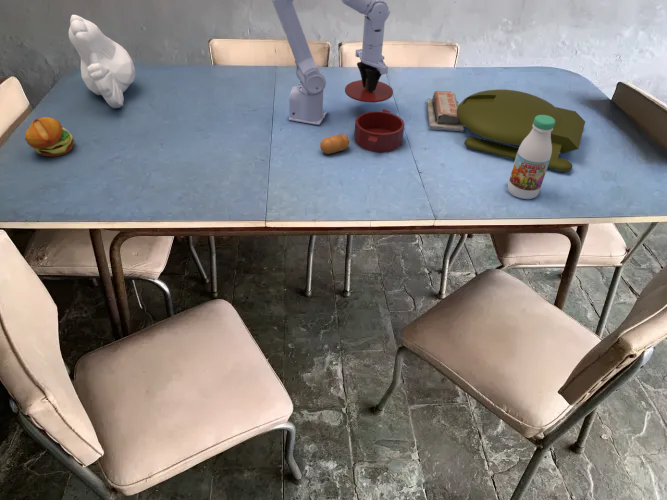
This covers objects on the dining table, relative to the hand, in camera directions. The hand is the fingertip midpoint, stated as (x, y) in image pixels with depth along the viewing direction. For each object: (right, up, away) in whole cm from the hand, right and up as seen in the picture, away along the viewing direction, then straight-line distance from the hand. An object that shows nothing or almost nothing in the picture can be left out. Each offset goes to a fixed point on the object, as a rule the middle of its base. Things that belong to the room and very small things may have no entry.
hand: (369, 88), depth 163 cm
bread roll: (-10, -21, -14) cm, 27 cm away
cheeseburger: (-84, -22, -18) cm, 89 cm away
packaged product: (+23, -8, +4) cm, 25 cm away
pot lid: (0, -1, +1) cm, 1 cm away
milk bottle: (+37, -33, -25) cm, 56 cm away
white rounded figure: (-79, -2, +5) cm, 80 cm away
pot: (+2, -17, -8) cm, 19 cm away
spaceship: (+42, -15, -3) cm, 45 cm away
